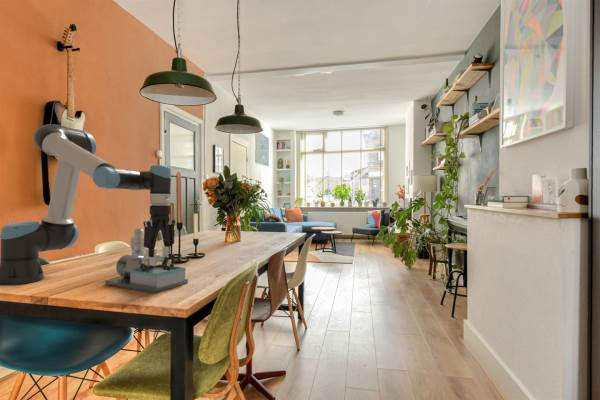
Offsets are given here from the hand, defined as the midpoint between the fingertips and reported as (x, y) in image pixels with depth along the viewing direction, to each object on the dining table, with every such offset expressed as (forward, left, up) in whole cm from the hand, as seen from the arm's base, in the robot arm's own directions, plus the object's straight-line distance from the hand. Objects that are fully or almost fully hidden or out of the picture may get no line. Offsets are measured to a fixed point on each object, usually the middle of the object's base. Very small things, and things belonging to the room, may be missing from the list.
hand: (159, 264), depth 126 cm
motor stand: (-6, 0, -9) cm, 11 cm away
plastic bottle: (-25, +11, -9) cm, 29 cm away
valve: (-1, 0, -1) cm, 2 cm away
